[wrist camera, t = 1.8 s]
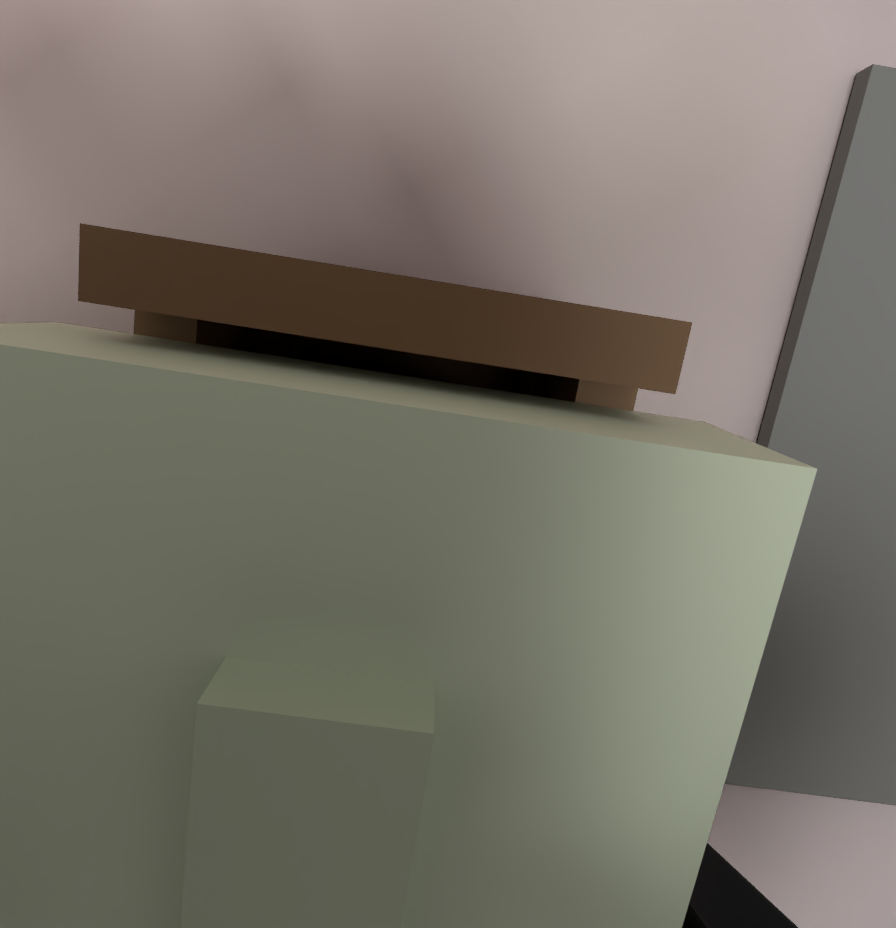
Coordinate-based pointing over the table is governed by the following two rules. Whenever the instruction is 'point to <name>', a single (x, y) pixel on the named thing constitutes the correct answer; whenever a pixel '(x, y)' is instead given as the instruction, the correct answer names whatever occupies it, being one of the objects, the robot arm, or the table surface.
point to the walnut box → (380, 320)
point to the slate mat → (838, 489)
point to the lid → (363, 642)
